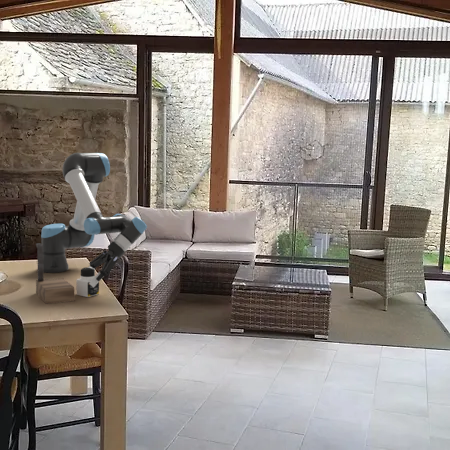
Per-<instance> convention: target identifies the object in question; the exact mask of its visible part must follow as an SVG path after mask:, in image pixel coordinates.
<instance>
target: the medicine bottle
mask: <svg viewBox="0 0 450 450" xmlns="http://www.w3.org/2000/svg"><path fill="white" fill-rule="evenodd" d="M95 271H96V268H95V269H94V268H91V267H89V266H88V267H83V268H81V269H80V276H81V277H79V278H76V280H75V281H76V285H75V286H76V288H75V290H76V291H75V293H76V296H81V297H84V298H91V297H93V296H97V295H99V294H100V281H99V282H98V283H97V284H96V286H95V287H94V288H93V287H92V286H91V285H90V284H89V283H90V281H91V280H92V279H93V278H94V277H95V276H96V272H95Z"/></svg>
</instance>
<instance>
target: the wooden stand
mask: <svg viewBox="0 0 450 450" xmlns="http://www.w3.org/2000/svg"><path fill="white" fill-rule="evenodd" d="M35 246H36V249H37V252H36V253H37V254H36V255H37V279H36V281H35V292H36V293H35V294H36V295H37V296H38V298H40V299H41V301H42V302H44V303H45V304H47V305H48V304H56V303H57V304H58V303H64V302H65V303H66V302H67V303H68V302H75V286H74V285H72V284H71V283H70V282H69V281H68V280H66V278H64V277H59V278H44V272H43V245H42V243H36V244H35Z"/></svg>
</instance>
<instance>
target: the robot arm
mask: <svg viewBox="0 0 450 450" xmlns="http://www.w3.org/2000/svg"><path fill="white" fill-rule="evenodd" d="M110 171H111V163H110V161H109V158H108V156H107V155H106V154H105V153H102V152H74V153H72V154H70V155H69V156H67V157H66V158H65V160H64V161H63V165H62V175H63V178H64V181H65V182H66V183H68V184H69V185H70V188H71V191H72V192H73V194H74V196H75V199H76V204H75V210H74V214H73V218H72V219H70V220H69V223H68V225H66V224H64V223H51V224H47V225H44V226H43V227H42V228H41V235H40V236H41V238H40V239H41V244H42V245H43V273H50V274H51V273H52V274H54V273H62V272H67V271H69V266H70V265H69V263H68V260H67V257H66V249H73V248H75V249H77V248H85V247H89V246H91V245H92V244H93V242H94V240H95V235H103V234H118V235H116V236H115V238H114V239H113V241H111V242H110V243H109V244H108V245H107V249H108V251H107V250H106V249H104V250H103V251H102V252H101V253H100V254H99V255H97V256H96V257H95V258H94V259H92V260H91V261H90V262H89V266H88V267H91V268H94V269H95V270H96V268H98V267H99V266H101V265H102V264H103V265H102V267H101V270H99V271H98V272H97V274H95V277H94V278H93V279H92V280H91V281H90V283H89V284H90V285H91V286H92V287H93V288H94V287H95V286H96V284H97V283H98V282H99V283H100V281H101V280H102V279H103V278H104V277H108V276H109V275H110V273H111V271H112V270H113V268H114V267H115V265H116V263H117V262H118V261H119V259H120V258H122V256H123V255H124V254H125V252H127V250H128V249H131V246H132V245H133V244H135V242H136V241H137V240H138V239H139V238H140V237H141V236H142V235H143V233H144V232H145V231H146V230H147V228H148V226H147V224H146V222H145V221H144V220H142V219H141V218H140V217H138V216H135V217H134V218H132V219H130V218H129V217H128V216H127V215H124V214H121V213H115V214H114V215H113V216H104V215H103V214H102V212H101V209H100V208H99V206H98V203H97V201H96V198H97V192H98V188H99V184H101V183H103V180H104V177H105V178H106V177H107V176H109V175H110ZM79 278H81V275H80V276H79Z"/></svg>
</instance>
